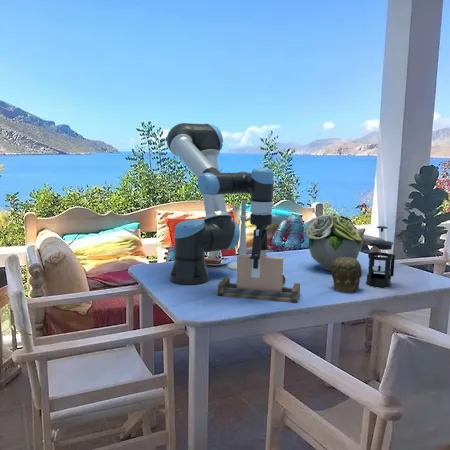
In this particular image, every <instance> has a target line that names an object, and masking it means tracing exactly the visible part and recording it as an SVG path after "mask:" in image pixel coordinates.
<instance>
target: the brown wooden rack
mask: <svg viewBox="0 0 450 450" xmlns="http://www.w3.org/2000/svg"><path fill="white" fill-rule="evenodd" d="M230 281H231V278H230V277H224V278H223V279H222V280H220V282H219V283H218V284H217V296H219V297H228V298H241V299H250V300H251V299H252V300H262V301H263V300H265V301H272V302H286V303H295V304H298V301H299V297H300V295H301V294H300V292H301V283H299V282H298V283H297V282H295V283H294V284H293V287H285V286H284V287H282V292H274V291H262V290H250V289H238V288H237V282H235V283H234V282H233V283H232V282H230Z"/></svg>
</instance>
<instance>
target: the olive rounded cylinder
mask: <svg viewBox="0 0 450 450" xmlns="http://www.w3.org/2000/svg"><path fill="white" fill-rule="evenodd" d="M361 267H362V266H361V264H360V261H359V260H358V259H355V258H351V257H347V258H346V257H343V258H342V257H340V258H337V259H336V260H335V261H334V262H333V264H332V269H331V271H330V273H331V278H332V280H333V288H334V291H335V290H336V291H339V292H341V293H342V292H343V293H355V292H356V291H358V289H359V287H360V280H361V277H362V268H361Z"/></svg>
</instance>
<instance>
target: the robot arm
mask: <svg viewBox="0 0 450 450" xmlns="http://www.w3.org/2000/svg"><path fill="white" fill-rule="evenodd" d="M223 142H224V138H223V133H222V132H221V130H220V128H219V127H218V126H217V125H215V124H209V123H187V122H182V123H178V124H175V125H174V126H173V127H171V128H170V130H169V131H168V133H167V136H166V145H167V148H168V149H169V151H170V152H171V153H172V155H174V156H176V157H179V159H180V160H181V161H182V163H184V165H185V166H186V167H187V168H188V170H190V172H192V174H193V175H194V176H195V177H196V179H197V187H198V191H199V192H200V194H202V195H201V196H202V201H203V206H204V211H205V217H204V218H203V219H188V220H183V221H180V222H178V223H177V224H176V225H175V226H174V235H173V236H174V262H173V265H172V268H171V271H170V277H169V278H170V279H169V280H170V281H171V282H173V283H175V284H178V285H179V284H180V285H199V284H200V285H201V284H204V283H206V282H208V281H209V272H208V271H209V270H208V268H207V265H206V262H205V253H211V252H212V253H213V252H219V251H222V252H223V251H224V252H225V251H228V250H234V248H236V247H237V245H238V244H239V242H240V232H241V228H240V225H239V224H238V222H237V221H235V220H233V218H232V215H231V214H230V213H228V212H227V207H226V201H225V197H224V196H225V195H230V194H231V195H235V194H236V195H237V194H238V195H239V194H246V195H248V194H249V195H250V217H249V219H250V221H249V223H250V224H251V225H252V226H255V229H253V237H252V238H253V239H252V246H251V254H250V255H251V256H250V259H252V277H255V278H260V256H267V251H269V250H270V248H269V244H268V227H269V226H271V225H272V221H273V215H272V212H273V208H274V207H275V204H273V199H274V198H273V197H274V183H275V180H274V171H273V170H272V169H270V168H261V167H259V168H257V167H256V168H253V169H252V171H251V172H247V171H238V172H237V171H236V172H221V171H220V168H219V163H218V156H219V155H220V151H221V150H222V148H223Z"/></svg>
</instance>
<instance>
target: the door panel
mask: <svg viewBox="0 0 450 450" xmlns="http://www.w3.org/2000/svg"><path fill="white" fill-rule="evenodd" d="M250 256H251V254H246V255H241V254H239V253H238V255H237V256H236V261H237V271H236V284H237V288H238V289H250V290H262V291H274V292H282V280H283V273H284V257H283V256H267V255H266V256H260V278H255V277H252V259H250Z"/></svg>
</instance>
